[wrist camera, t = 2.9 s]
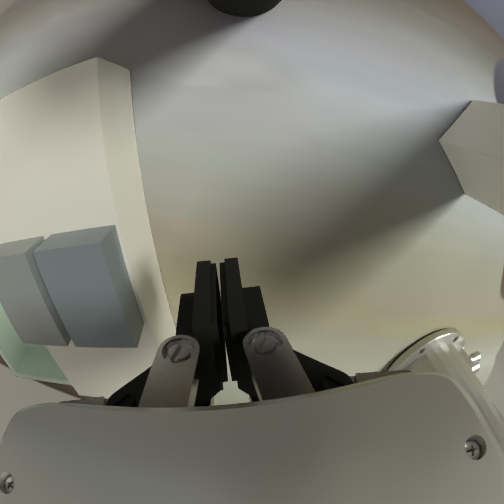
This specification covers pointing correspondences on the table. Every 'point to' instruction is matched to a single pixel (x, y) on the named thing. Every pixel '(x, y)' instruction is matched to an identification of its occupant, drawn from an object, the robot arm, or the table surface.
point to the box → (27, 356)
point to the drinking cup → (244, 6)
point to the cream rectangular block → (84, 198)
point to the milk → (478, 152)
